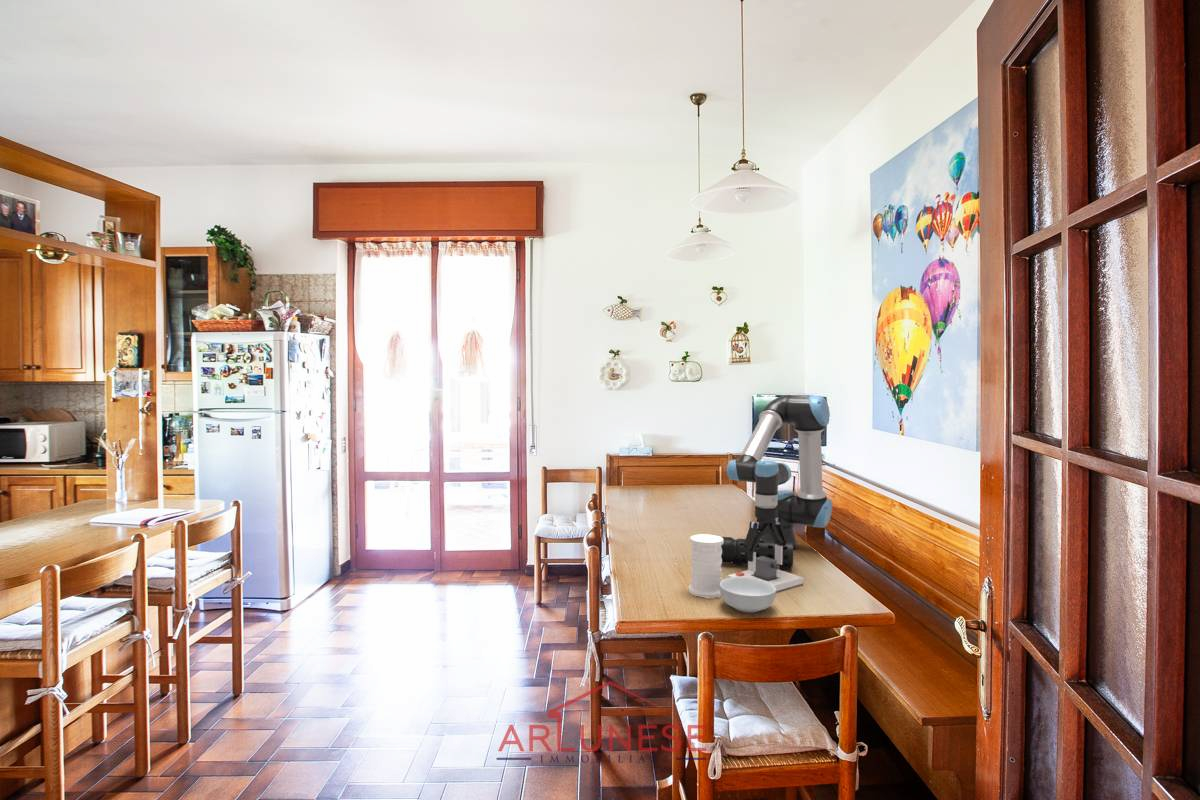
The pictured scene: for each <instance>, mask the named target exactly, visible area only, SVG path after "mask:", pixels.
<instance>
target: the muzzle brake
mask: <svg viewBox="0 0 1200 800" xmlns="http://www.w3.org/2000/svg"><path fill="white" fill-rule="evenodd" d="M721 537H722V538H723V545H721V548H722V554H721V558H722V563H728V564H729V563H731V564H732V565H733V564H735V566H742V565H743V564H744V565H748V560H747V551H746V550H743V545H744V542H745V539H746V538H737V539H734V538H733V537H732V536H731V537H730V536H721ZM776 544H777V543H776V541H768V540H760V541H759V543H758V545H757V547H756V549H755V550H754V552H756V558H757V557H761V556H764V557H768V558H771V559H774V560H775V545H776ZM777 545H778V544H777ZM751 548H752V547H751ZM777 565H779V564H777ZM779 566H780V568H779V569H790V570H791V569H792V567H794V550H793V543H792V542H787V543H786V546H783V554H782V565H779Z"/></svg>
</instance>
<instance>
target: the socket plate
mask: <svg viewBox="0 0 1200 800" xmlns="http://www.w3.org/2000/svg"><path fill="white" fill-rule="evenodd" d="M731 577H750V578H756V579H760V578H757V577H754V572H753V571H750V570H748V569H747V570H743V571H739V572H735V573H731V574H728V575H727V578H731ZM760 580H763V579H760ZM764 581H765V580H764ZM766 582H769V583H771V584H772V585H774V586H775V588H776V594H777V593H779V592H783V590H784V591H786V590H790V589H793V587H794V588H797V587H800V585H801V586H804V577H803V576H799V575H796V574H793V573H790V572H787V571H783V570H781V569H779V570H777V575H776V579H775V580H771V581H766ZM796 586H797V587H796Z"/></svg>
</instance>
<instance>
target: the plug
mask: <svg viewBox="0 0 1200 800" xmlns="http://www.w3.org/2000/svg"><path fill="white" fill-rule="evenodd" d="M780 569H781V568H780V566H779V565H777V560H774V559H771V558H768V557H764V556H761V557H757V558H756V571H755V572H754V577H757V578H760V579H763V580H765V581H771V580H775V579H776V575H777V570H780Z"/></svg>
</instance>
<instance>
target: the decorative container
mask: <svg viewBox="0 0 1200 800" xmlns="http://www.w3.org/2000/svg"><path fill="white" fill-rule="evenodd" d="M722 537H723V536H719V535H715V534H708V533H698V534H694V535H691V536H690V537H689V540H690V541H689V542H690V544H691V549H690V550H691V551H690V552H691V558H690V560H691V567H690V570H691V576H690V581H691V584H689V586H688V593H689V592H690V593H691V594H693V595H695V596H694V597H696V596H700V597H709V598H708V599H716V598H715V597H718V598H722V597H721V594H720V582H721V581H722V580H723V579H722V574H723V569H722V564H723V562H722V558H721V554H722V548H721V545H723V538H722ZM690 593H689V594H690ZM691 594H690V595H691ZM693 595H692V596H693ZM700 597H699V598H700Z"/></svg>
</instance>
